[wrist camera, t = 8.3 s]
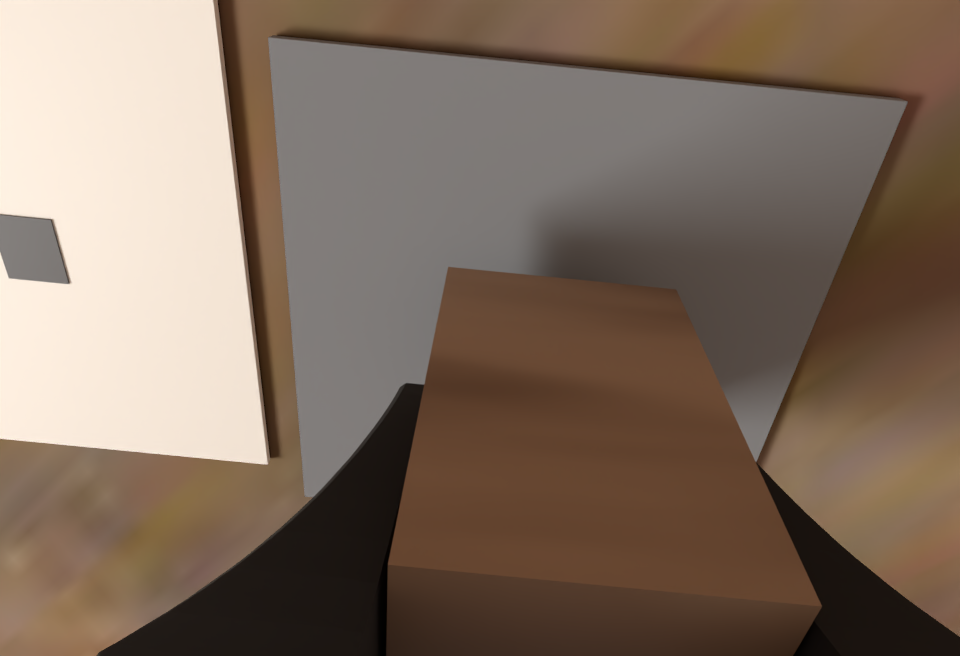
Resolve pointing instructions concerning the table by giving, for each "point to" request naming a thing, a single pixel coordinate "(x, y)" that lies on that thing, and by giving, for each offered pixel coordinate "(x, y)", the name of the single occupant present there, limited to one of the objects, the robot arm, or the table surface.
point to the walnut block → (583, 487)
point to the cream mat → (123, 233)
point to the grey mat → (551, 210)
